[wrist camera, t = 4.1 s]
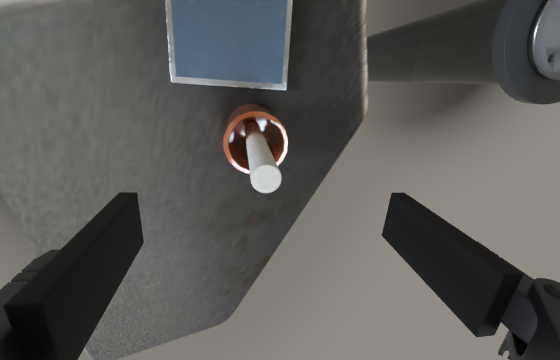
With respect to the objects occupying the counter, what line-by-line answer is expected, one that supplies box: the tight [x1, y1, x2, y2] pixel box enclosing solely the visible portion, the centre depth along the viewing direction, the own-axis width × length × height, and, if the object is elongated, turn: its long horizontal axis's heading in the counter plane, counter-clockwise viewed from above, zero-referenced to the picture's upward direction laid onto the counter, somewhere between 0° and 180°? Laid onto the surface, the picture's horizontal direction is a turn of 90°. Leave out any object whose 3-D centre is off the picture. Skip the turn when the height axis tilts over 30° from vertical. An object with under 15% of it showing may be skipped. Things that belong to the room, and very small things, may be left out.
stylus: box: [244, 122, 282, 193], centre depth 28 cm, size 2×2×20 cm
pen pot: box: [224, 103, 288, 174], centre depth 33 cm, size 7×7×10 cm
